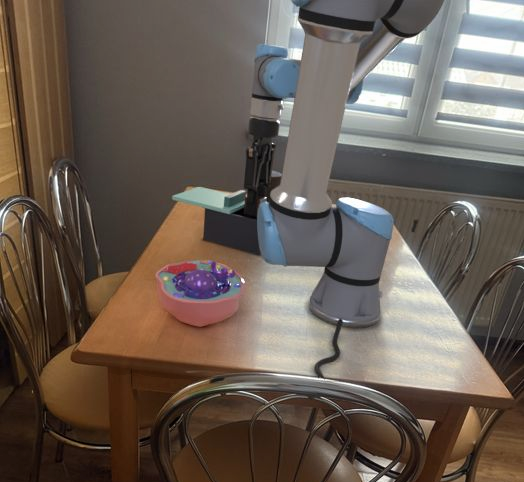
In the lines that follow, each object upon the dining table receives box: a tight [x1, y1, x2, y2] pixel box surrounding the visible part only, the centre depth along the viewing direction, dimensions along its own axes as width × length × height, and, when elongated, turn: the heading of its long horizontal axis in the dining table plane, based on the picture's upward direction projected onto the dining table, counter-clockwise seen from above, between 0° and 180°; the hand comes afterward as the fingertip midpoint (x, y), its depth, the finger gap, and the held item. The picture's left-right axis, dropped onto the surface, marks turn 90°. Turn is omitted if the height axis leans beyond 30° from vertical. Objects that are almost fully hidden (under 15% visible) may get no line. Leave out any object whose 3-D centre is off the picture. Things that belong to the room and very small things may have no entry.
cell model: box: [154, 259, 246, 328], centre depth 97 cm, size 17×20×11 cm
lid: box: [171, 186, 247, 214], centre depth 138 cm, size 14×17×4 cm
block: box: [244, 196, 267, 217], centre depth 135 cm, size 4×4×4 cm
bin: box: [202, 208, 261, 256], centre depth 139 cm, size 14×17×9 cm
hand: (254, 212), depth 136 cm, fingers closed on block, 4 cm apart
